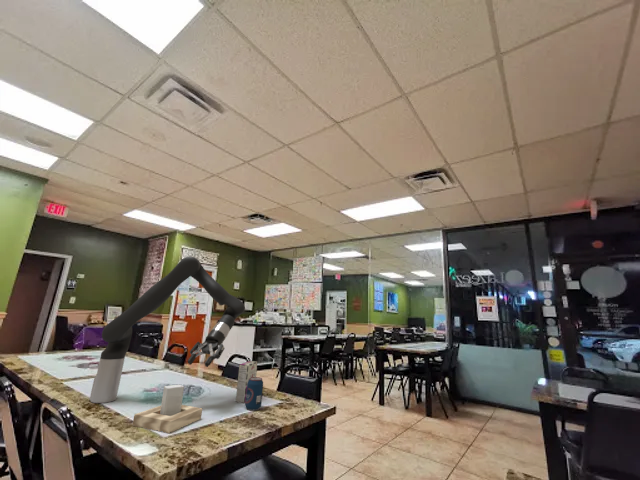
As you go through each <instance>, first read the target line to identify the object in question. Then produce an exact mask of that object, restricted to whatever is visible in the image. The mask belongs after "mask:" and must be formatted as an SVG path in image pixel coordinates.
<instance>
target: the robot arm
mask: <svg viewBox="0 0 640 480" xmlns="http://www.w3.org/2000/svg"><path fill="white" fill-rule="evenodd" d="M190 277H192V278H193V279H194V280H195V281H196V282H197V283H199V285H201V287H202V288H203V289H204V290H205V291H206V292H207V294H208V295H209V296H210V297H211V298H212V299H213V300H214V301H215V303H217V304H218V305H219V306H224V305H226V306H227V308H226V309H225V310H224V312H223V314H222V316H221V317H220V318H219V320H218V322H216V324H215V325H214V326H212V327H213V328H212V329H211V330H210V331H209V333H208V334H207V336H206V337H205V340H204V342H202V343H201V342H200V341H197V342H196V343H195V344H194V345H193V346H192V348H191V349H190V350H189V354H190V357H188V359H187V363H188V365H190V366H191V365H192V364H193V363H194V361H195V360H196V359H197V357H200V356H202V355H209V356H208V357H207V359H206V360H205V362H204V366H205V367H206V368H208V367H209V366H211V364H212V363H213V361H215V360H218V359H220V358H221V356H222V354H223V352H224V350H225V346H224V344H223V343H224V341H225V340H226V338H227V337H228V335H229V333H230V331H231V330H232V328H233V327H234V324H235V321H236V320H237V318H238V317H239V316H241V315H242V314H243V313H244V312H245V310H246V307H245V306H246V305H245V304H244V302H243V301H242V300H241V299H240V298H237V297H236V296H235V295H233V294H230V293H229V292H228V291H227V290H226V288H224V286H222V285H221V283H219V282H218V281H216V280H215V279H214V278H213V277H212V276H211V275H210V274H209V273H208V272H207V270H206V269H205V268H204V266H203V265H202V263H201V262H200V260H199V259H198V258H197V257H195V256H185V257H184V258H182V259H181V260H180V261H179V262H178V264H176V265H175V267H174V268H173V269H172V270H171V271H170V272H169V273H168V274H167V275H165V276H164V277H162V278H161V279H160V280H158V281H157V282H156V283H155V284H153V285H152V286H151V287H149V288H148V289H147V290H146V291H145V292H144V293H143V294H142V295H141V296H140V297H138V299H137V300H135V301H134V302H133V303H132V304H131V305H130V306H128V308H127V309H126V310H124V312H122V313H121V314H119V315H118V316H117V317H115V318H114V319H113V320H111V321H110V322H108V323H107V324H106V325H105V326H104V328H103V330H102V331H101V332H102V333H101V338H102V340H103V341H104V342H105V343H107V345H106V347H105V348H104V349H103V350H102V352H101V354H100V357H99V362H98V366H97V372H96V375H95V376H94V377H93V382H92V387H91V391H90V395H89V401H90V402H91V403H95V404H102V403H103V404H105V403H110V402H113V401H116V400H117V398H118V393H119V387H120V383H121V379H122V373H123V368H124V362H125V360H126V359H125V358H126V354H127V352H128V350H129V348H130V344H131V340H132V335H133V326H134V325H135V324H136V323H137V322H138V321H141V320H142V319H144V318H145V317H147V316H148V315H150V314H151V313H154V312H155V311H156V310H157V309H158V308H160V307H161V306H162V305H163V304H164V303H165V302H166V301H167V300H168V299H169V298H170V297H171V296H172V295H173V293H174V292H175V291H176V290H177V288H178V287H179V286H180V285H181V284H182V283H183V282H185V281H187V280H188V279H189V278H190Z"/></svg>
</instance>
